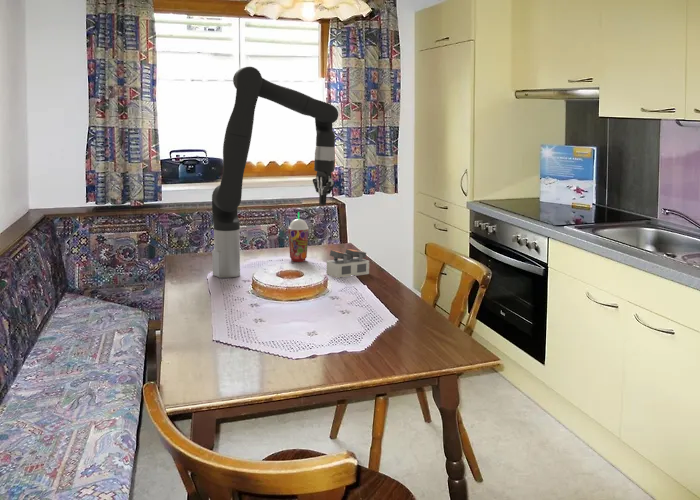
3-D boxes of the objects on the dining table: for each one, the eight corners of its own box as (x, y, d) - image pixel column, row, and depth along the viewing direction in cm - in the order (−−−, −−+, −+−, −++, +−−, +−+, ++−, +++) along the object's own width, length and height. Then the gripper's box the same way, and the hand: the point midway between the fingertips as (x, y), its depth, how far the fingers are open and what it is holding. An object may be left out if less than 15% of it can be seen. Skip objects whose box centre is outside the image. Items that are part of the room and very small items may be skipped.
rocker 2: (352, 256, 254) (353, 251, 254) (344, 254, 259) (345, 248, 258) (365, 258, 258) (366, 252, 258) (357, 255, 262) (358, 250, 262)
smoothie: (299, 263, 274) (299, 214, 270) (283, 260, 279) (283, 212, 275) (312, 260, 280) (313, 212, 277) (297, 257, 285) (297, 210, 281)
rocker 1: (337, 257, 250) (338, 252, 250) (329, 255, 255) (330, 249, 255) (350, 260, 254) (351, 254, 254) (342, 257, 258) (343, 252, 258)
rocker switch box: (338, 278, 250) (338, 257, 249) (326, 273, 257) (326, 254, 255) (369, 274, 258) (369, 254, 257) (356, 269, 265) (357, 250, 263)
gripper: (307, 157, 259) (305, 202, 262) (325, 159, 248) (323, 207, 251) (323, 157, 263) (321, 202, 266) (342, 160, 252) (340, 206, 256)
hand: (322, 204), depth 259 cm, fingers closed
